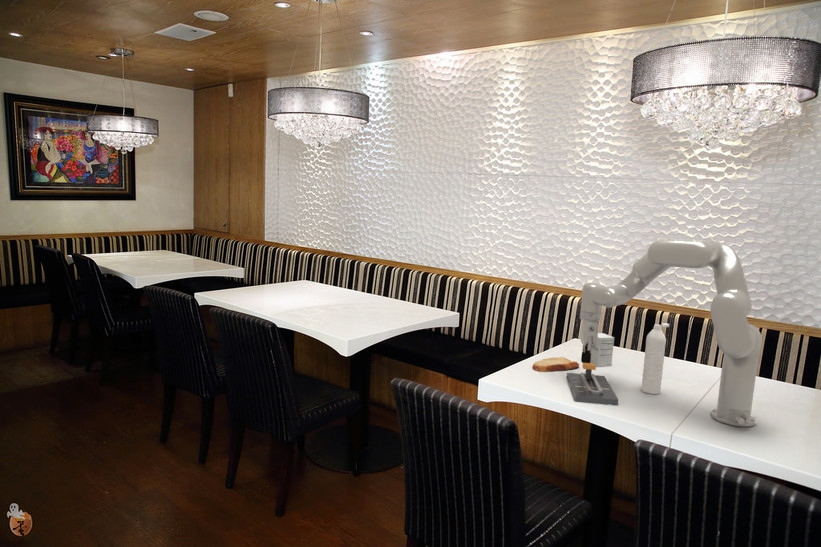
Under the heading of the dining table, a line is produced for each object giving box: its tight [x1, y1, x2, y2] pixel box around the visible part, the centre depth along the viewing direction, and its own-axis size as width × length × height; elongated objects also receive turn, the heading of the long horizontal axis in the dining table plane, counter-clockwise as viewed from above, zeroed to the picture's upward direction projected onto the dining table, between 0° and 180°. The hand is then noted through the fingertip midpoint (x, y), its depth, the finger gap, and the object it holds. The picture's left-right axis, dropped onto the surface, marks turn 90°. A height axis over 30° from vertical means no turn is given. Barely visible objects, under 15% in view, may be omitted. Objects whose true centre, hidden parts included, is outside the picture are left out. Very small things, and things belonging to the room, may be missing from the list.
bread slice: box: [532, 356, 580, 373], centre depth 230 cm, size 18×18×4 cm
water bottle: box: [640, 322, 670, 395], centre depth 205 cm, size 9×6×25 cm
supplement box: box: [590, 332, 615, 368], centre depth 237 cm, size 7×7×13 cm
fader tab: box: [581, 363, 597, 380], centre depth 210 cm, size 3×4×6 cm, turn 81°
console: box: [566, 372, 619, 406], centre depth 204 cm, size 26×14×3 cm, turn 171°
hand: (585, 362), depth 216 cm, fingers closed
